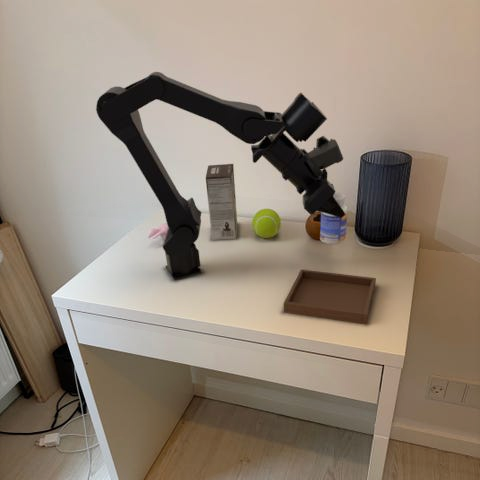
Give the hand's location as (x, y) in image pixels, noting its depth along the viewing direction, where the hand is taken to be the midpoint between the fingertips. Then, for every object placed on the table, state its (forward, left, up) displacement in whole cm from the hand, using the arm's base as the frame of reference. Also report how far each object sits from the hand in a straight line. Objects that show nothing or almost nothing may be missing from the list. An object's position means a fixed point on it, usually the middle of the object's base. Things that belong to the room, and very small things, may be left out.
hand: (341, 210), depth 100 cm
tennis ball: (-7, +20, -12) cm, 25 cm away
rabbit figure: (-28, +33, -12) cm, 45 cm away
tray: (-10, -12, -12) cm, 20 cm away
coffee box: (-15, +28, -12) cm, 34 cm away
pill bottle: (-1, +1, -7) cm, 7 cm away
